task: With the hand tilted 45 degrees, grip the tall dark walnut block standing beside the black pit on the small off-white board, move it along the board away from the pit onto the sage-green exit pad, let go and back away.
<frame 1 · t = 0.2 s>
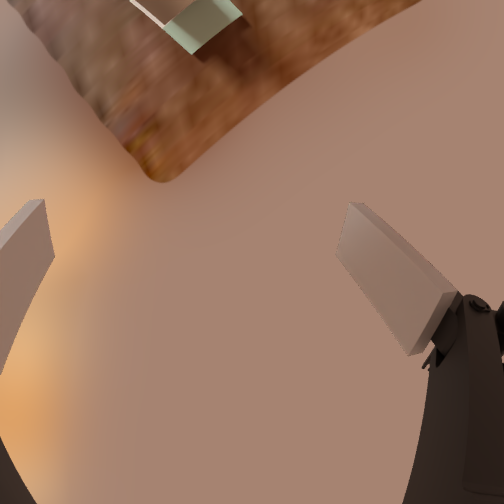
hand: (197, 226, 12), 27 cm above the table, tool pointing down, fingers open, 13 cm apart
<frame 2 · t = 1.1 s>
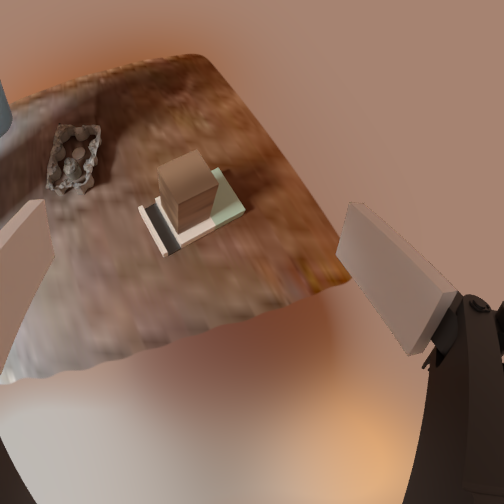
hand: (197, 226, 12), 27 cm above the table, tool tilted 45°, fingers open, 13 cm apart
egg carton: (78, 164, 39), on the table
walnut block: (185, 211, 39), point 2 cm above the table, touching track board
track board: (191, 213, 41), on the table
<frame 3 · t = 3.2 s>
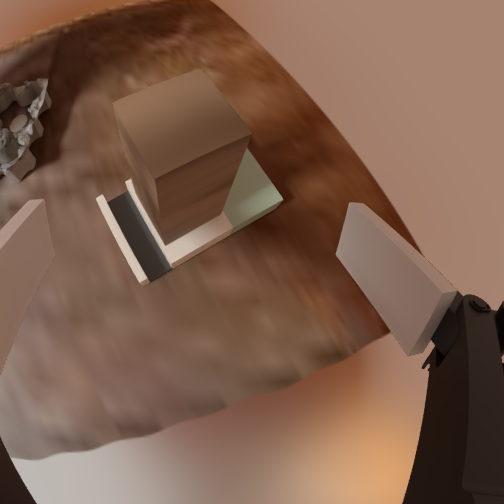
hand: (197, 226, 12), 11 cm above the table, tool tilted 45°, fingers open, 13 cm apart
egg carton: (17, 139, 22), on the table
walnut block: (177, 203, 21), point 2 cm above the table, touching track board
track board: (188, 207, 24), on the table
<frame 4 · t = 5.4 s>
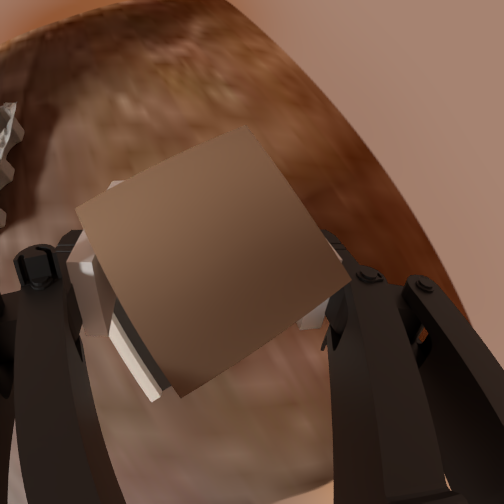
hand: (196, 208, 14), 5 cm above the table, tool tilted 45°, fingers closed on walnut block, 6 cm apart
walnut block: (194, 295, 16), point 2 cm above the table, touching gripper, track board
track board: (207, 290, 18), on the table
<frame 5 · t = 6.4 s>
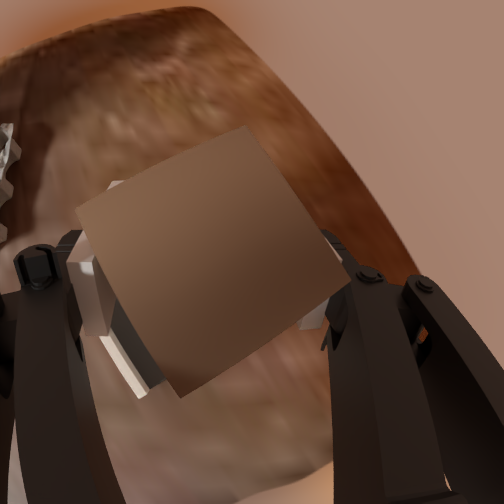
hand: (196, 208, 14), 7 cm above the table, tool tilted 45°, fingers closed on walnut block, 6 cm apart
walnut block: (194, 296, 16), point 4 cm above the table, touching gripper
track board: (190, 298, 20), on the table
when the fingers open (6 cm above the table, at t = 7.8 s): walnut block stays where it is, resting on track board.
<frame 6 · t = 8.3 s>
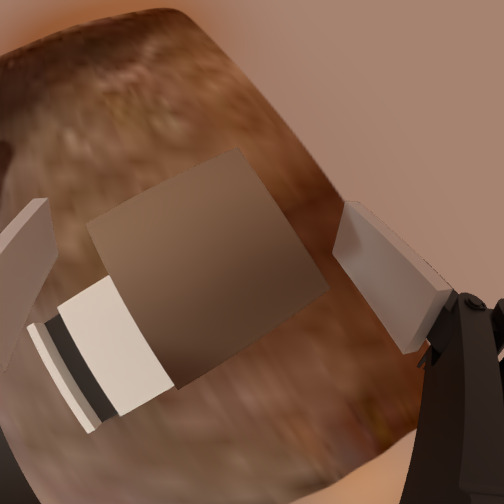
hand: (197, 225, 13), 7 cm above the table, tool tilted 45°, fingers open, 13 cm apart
walnut block: (193, 298, 17), point 2 cm above the table, touching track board
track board: (140, 332, 18), on the table
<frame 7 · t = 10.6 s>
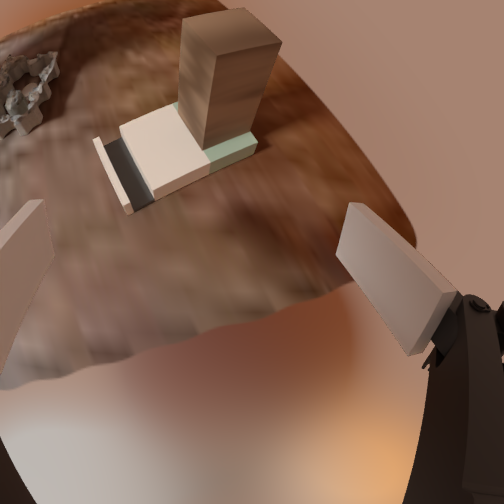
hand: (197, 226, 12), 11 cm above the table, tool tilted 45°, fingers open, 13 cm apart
egg carton: (27, 102, 24), on the table
walnut block: (213, 121, 25), point 2 cm above the table, touching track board
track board: (173, 151, 25), on the table
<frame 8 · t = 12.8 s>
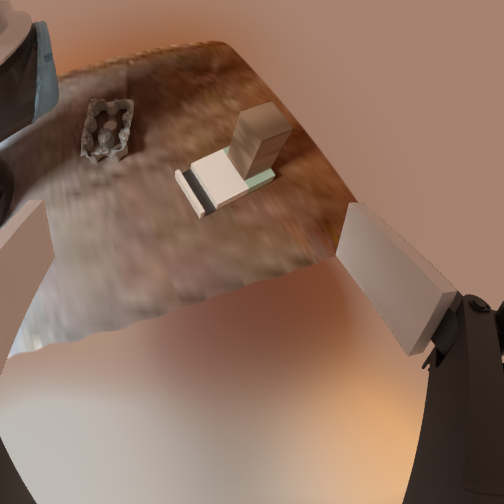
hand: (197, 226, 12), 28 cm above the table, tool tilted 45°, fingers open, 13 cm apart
egg carton: (110, 136, 42), on the table
walnut block: (248, 162, 43), point 2 cm above the table, touching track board
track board: (224, 179, 44), on the table
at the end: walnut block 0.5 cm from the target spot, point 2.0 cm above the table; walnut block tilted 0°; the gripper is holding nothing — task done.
